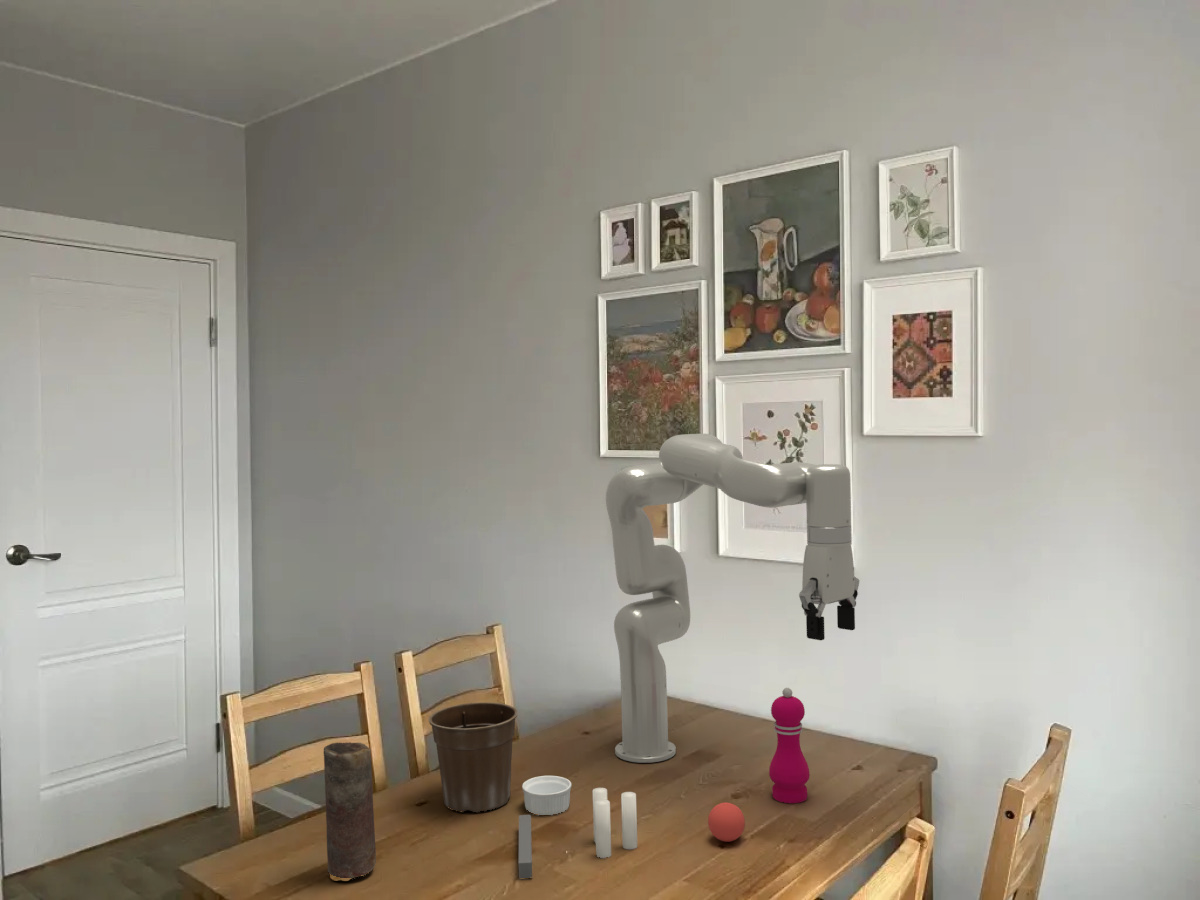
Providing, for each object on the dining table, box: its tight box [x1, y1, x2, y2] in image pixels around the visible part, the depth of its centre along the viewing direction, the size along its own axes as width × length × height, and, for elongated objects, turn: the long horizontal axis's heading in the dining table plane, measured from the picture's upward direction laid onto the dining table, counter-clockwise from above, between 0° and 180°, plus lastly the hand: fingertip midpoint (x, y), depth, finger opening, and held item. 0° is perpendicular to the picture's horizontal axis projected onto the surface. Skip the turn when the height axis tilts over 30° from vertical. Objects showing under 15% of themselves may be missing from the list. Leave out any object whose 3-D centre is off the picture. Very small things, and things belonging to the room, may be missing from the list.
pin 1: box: [592, 787, 608, 844], centre depth 160 cm, size 2×2×8 cm
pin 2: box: [595, 799, 612, 859], centre depth 155 cm, size 2×2×8 cm
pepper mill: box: [768, 687, 811, 804], centre depth 176 cm, size 7×7×20 cm
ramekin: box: [521, 775, 572, 816], centre depth 175 cm, size 9×9×4 cm
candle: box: [323, 742, 377, 878], centre depth 151 cm, size 8×7×20 cm
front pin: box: [620, 791, 638, 850], centre depth 158 cm, size 2×2×8 cm
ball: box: [707, 802, 746, 843], centre depth 159 cm, size 6×6×6 cm
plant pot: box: [428, 701, 518, 813], centre depth 179 cm, size 16×16×16 cm
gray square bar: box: [518, 814, 533, 879], centre depth 157 cm, size 18×2×2 cm, turn 5°
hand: (831, 634), depth 169 cm, fingers open, 9 cm apart
